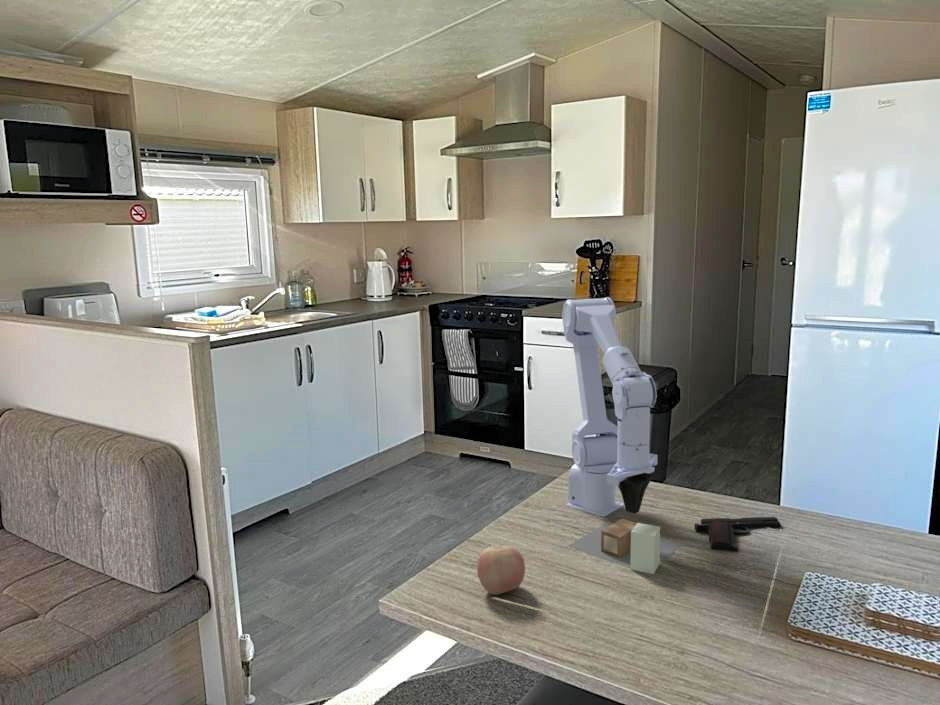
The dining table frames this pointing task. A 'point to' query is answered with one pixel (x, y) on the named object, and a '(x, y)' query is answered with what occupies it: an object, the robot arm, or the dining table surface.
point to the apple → (500, 569)
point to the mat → (593, 546)
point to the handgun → (732, 529)
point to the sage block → (645, 548)
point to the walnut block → (617, 538)
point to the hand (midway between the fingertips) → (632, 511)
